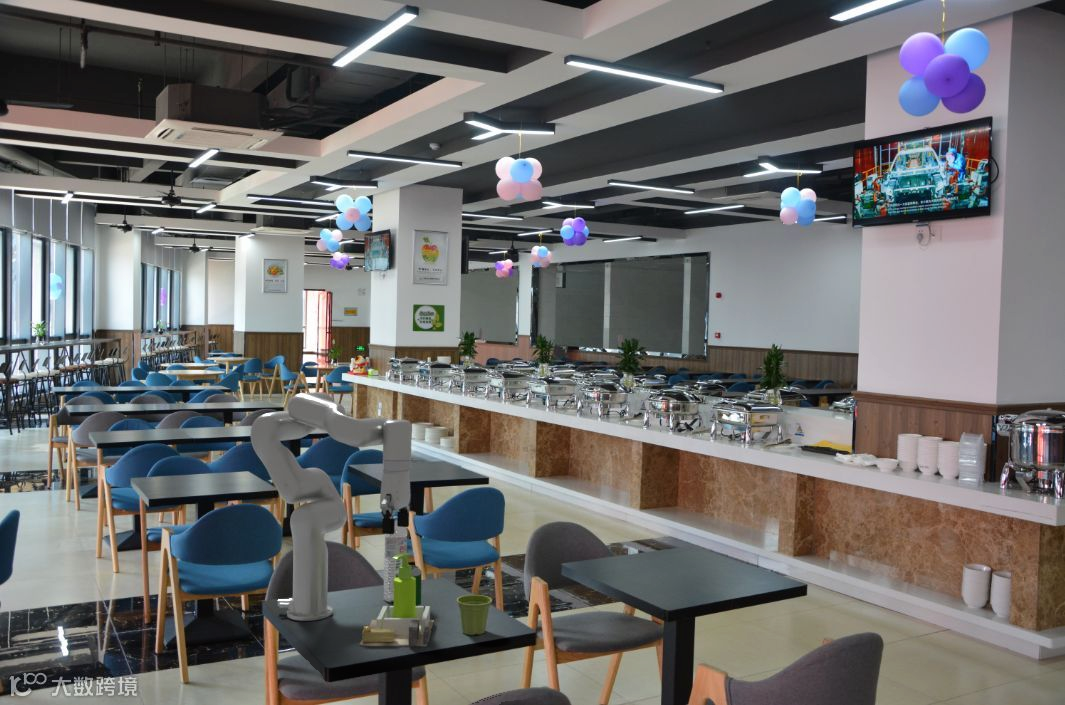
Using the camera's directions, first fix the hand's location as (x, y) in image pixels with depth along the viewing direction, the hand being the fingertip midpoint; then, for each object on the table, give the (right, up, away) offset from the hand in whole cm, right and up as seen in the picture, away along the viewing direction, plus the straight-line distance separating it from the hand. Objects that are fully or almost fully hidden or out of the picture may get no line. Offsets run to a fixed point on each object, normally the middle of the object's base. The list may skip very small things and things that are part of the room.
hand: (395, 530), depth 226 cm
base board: (+1, -27, -1) cm, 27 cm away
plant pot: (+21, -28, +1) cm, 35 cm away
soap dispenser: (+2, -27, +1) cm, 27 cm away
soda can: (0, -27, +20) cm, 34 cm away
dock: (+2, -27, +2) cm, 27 cm away
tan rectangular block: (-3, -26, -10) cm, 28 cm away
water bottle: (-5, -27, +29) cm, 40 cm away
